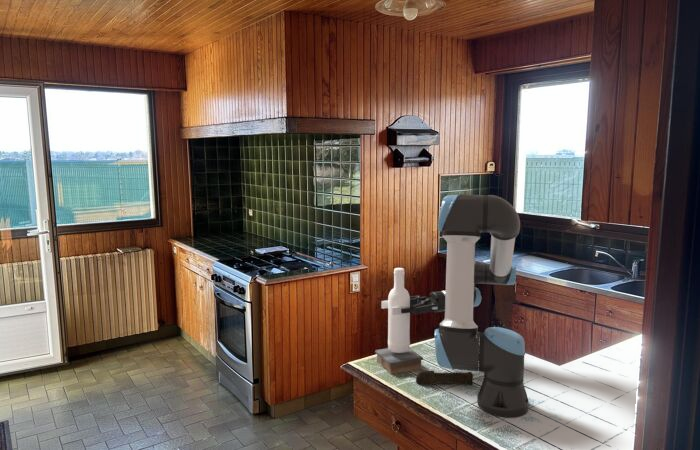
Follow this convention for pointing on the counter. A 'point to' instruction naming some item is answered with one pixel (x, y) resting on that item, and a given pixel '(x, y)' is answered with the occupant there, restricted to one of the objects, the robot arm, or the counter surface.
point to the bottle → (398, 323)
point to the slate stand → (398, 360)
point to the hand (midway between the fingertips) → (386, 308)
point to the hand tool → (443, 377)
